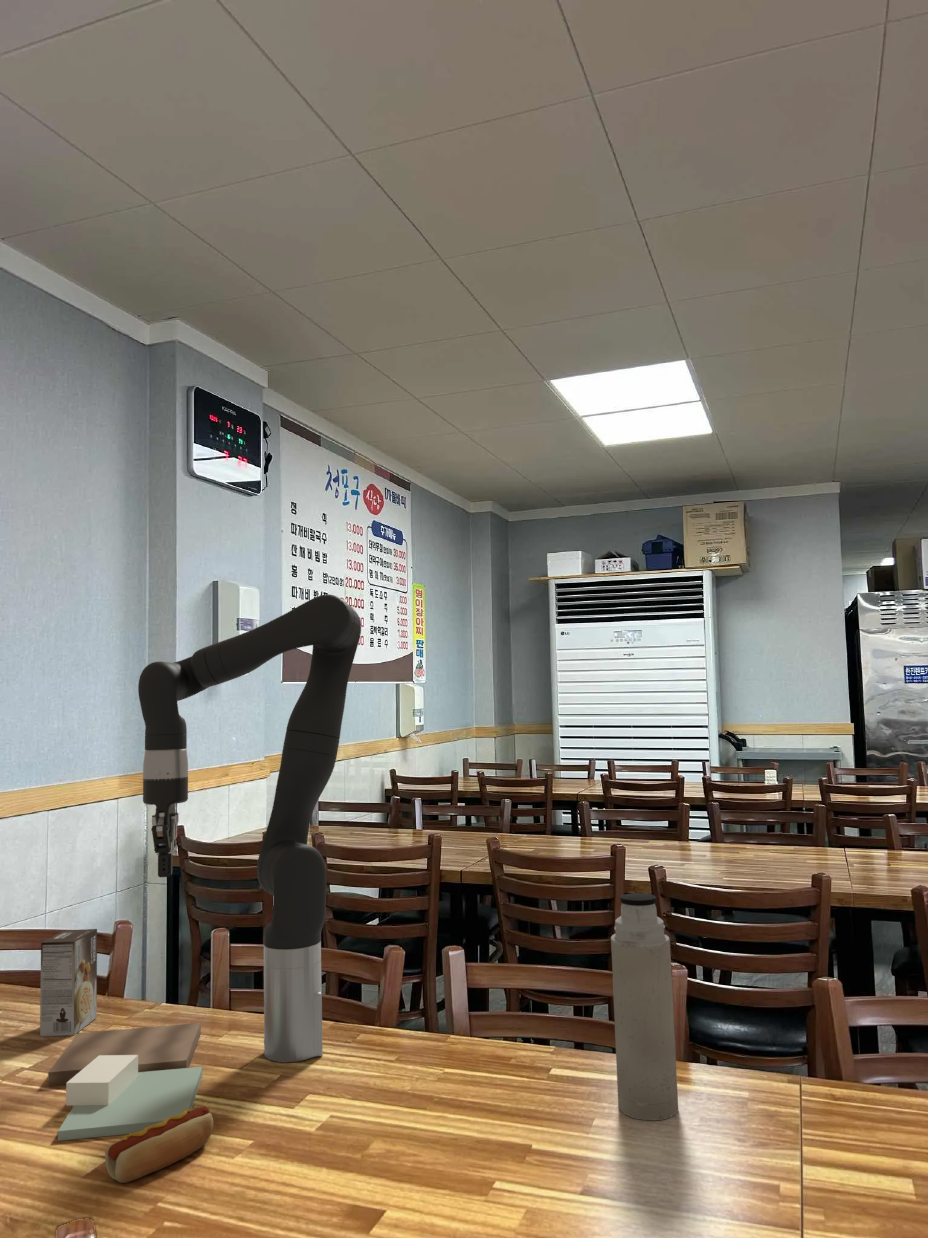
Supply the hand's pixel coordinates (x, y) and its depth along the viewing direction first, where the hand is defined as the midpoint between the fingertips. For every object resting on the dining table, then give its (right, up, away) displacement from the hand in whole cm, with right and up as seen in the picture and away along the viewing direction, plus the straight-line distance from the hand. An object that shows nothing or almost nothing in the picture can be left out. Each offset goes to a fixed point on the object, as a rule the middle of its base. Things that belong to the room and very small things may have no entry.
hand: (165, 876), depth 156 cm
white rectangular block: (0, -23, -27) cm, 35 cm away
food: (+15, -22, -46) cm, 53 cm away
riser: (-2, -26, -12) cm, 29 cm away
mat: (+6, -24, -29) cm, 38 cm away
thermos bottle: (+77, -22, -35) cm, 87 cm away
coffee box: (-19, -28, +4) cm, 34 cm away
